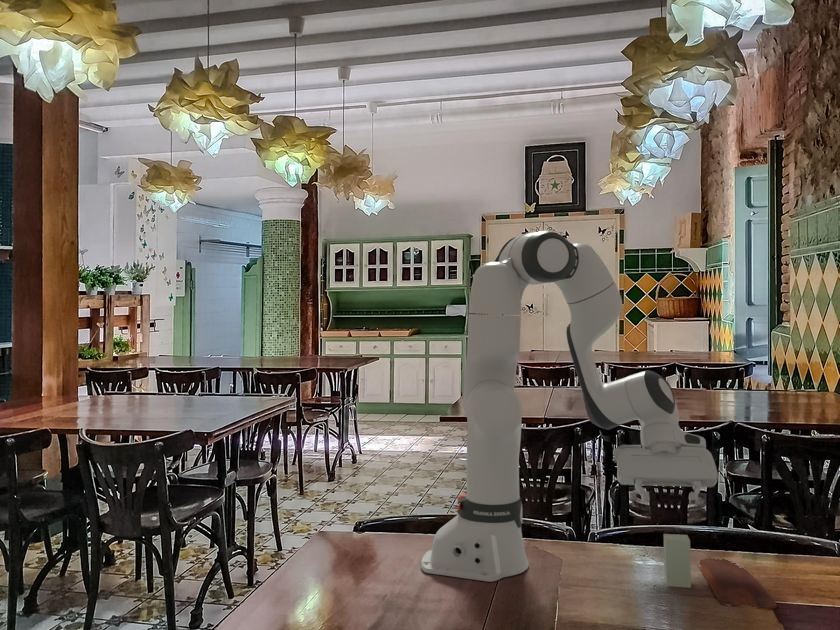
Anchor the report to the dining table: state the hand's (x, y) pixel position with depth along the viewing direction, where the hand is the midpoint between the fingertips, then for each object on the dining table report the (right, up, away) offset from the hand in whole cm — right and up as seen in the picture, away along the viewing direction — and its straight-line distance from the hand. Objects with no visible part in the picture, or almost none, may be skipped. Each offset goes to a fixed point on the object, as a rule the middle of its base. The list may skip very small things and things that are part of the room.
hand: (669, 502), depth 142 cm
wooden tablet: (+10, -14, -7) cm, 18 cm away
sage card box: (-2, -13, -9) cm, 16 cm away
